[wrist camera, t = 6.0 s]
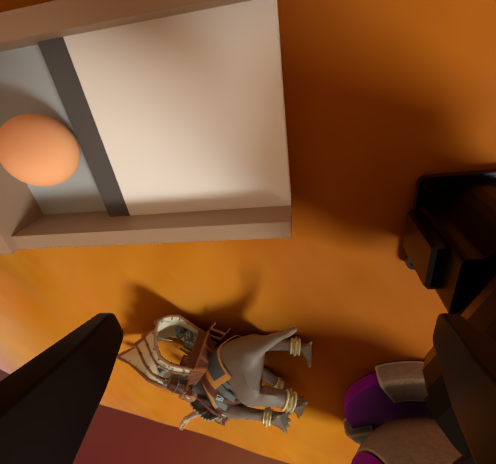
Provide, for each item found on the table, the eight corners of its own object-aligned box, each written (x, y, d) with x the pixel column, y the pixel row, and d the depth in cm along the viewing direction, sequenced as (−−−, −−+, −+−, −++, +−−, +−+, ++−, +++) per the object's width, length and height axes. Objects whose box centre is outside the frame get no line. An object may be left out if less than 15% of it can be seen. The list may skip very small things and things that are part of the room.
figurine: (261, 475, 30) (96, 427, 30) (268, 411, 35) (126, 369, 34) (350, 374, 18) (77, 293, 18) (341, 298, 23) (127, 234, 23)
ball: (-42, 125, 15) (7, 116, 18) (2, 202, 16) (39, 180, 20) (42, 111, 15) (75, 105, 18) (76, 189, 17) (99, 169, 20)
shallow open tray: (275, -28, 14) (268, -51, 10) (291, 208, 20) (291, 242, 16) (-57, 41, 17) (-143, 40, 14) (43, 224, 23) (0, 254, 20)
